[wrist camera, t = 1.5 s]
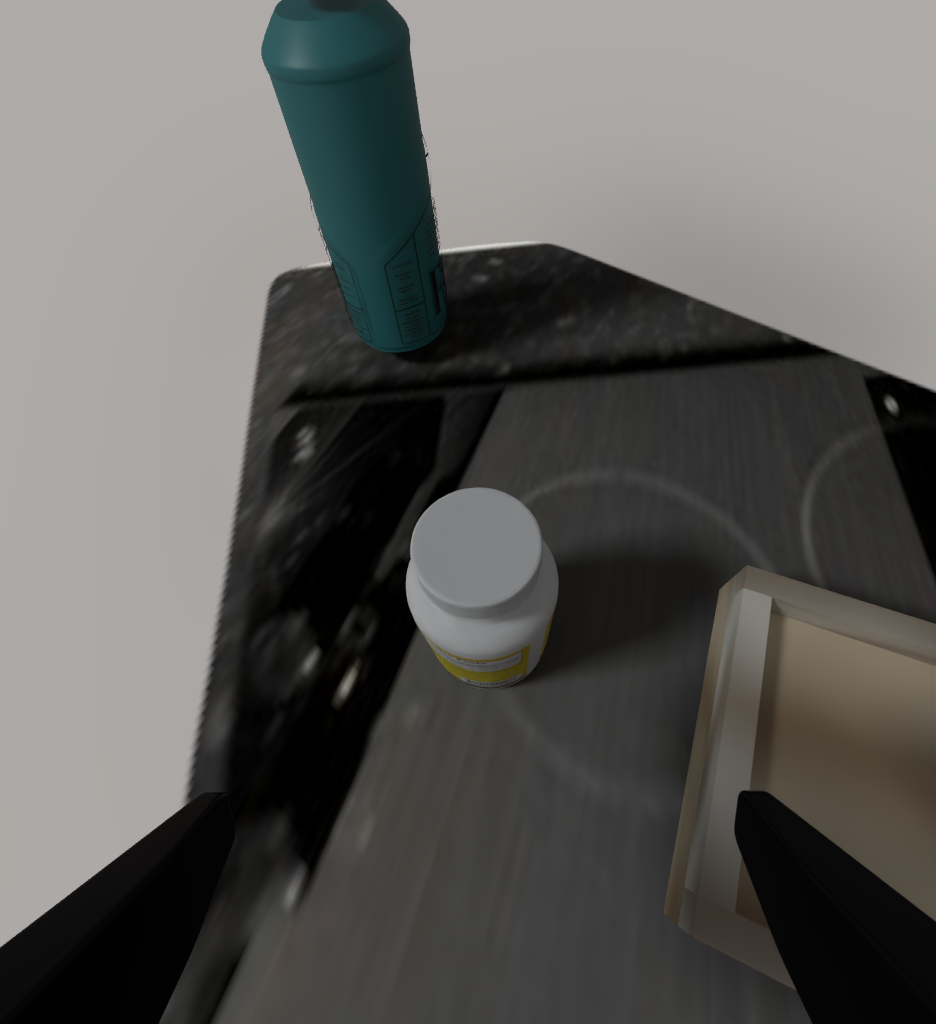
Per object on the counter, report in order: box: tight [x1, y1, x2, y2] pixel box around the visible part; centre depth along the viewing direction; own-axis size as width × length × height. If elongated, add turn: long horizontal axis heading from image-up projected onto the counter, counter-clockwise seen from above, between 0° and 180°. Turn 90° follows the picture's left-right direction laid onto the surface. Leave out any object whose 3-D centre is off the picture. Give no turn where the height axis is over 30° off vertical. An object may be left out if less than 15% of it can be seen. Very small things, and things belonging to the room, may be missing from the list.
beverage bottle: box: [261, 0, 449, 352], centre depth 24 cm, size 6×7×20 cm
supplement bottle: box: [406, 488, 559, 690], centre depth 18 cm, size 5×5×10 cm
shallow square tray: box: [663, 565, 936, 991], centre depth 16 cm, size 12×14×5 cm
